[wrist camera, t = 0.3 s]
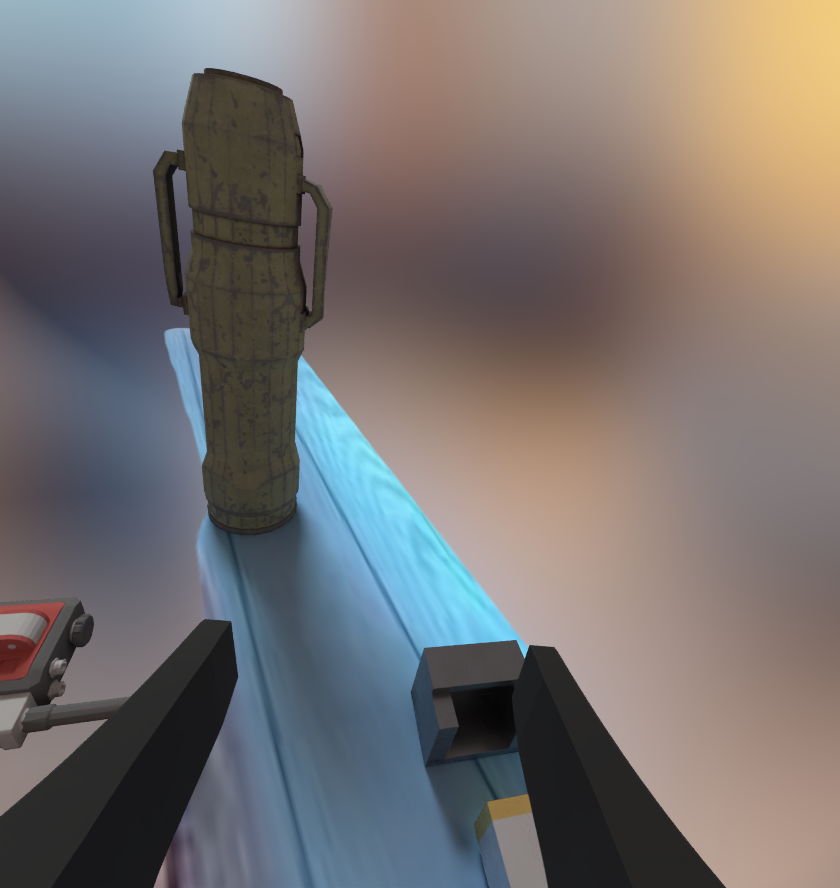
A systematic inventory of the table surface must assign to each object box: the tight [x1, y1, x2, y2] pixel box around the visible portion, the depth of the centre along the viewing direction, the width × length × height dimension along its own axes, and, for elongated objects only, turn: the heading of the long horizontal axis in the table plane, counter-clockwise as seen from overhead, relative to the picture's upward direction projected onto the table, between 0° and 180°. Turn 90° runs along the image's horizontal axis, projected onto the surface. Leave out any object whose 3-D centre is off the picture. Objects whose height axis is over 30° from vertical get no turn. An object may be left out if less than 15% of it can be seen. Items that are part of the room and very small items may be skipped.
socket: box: [411, 640, 525, 767], centre depth 28 cm, size 5×7×5 cm
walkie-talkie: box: [0, 598, 130, 750], centre depth 26 cm, size 9×4×20 cm
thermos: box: [153, 68, 332, 535], centre depth 36 cm, size 9×12×35 cm
